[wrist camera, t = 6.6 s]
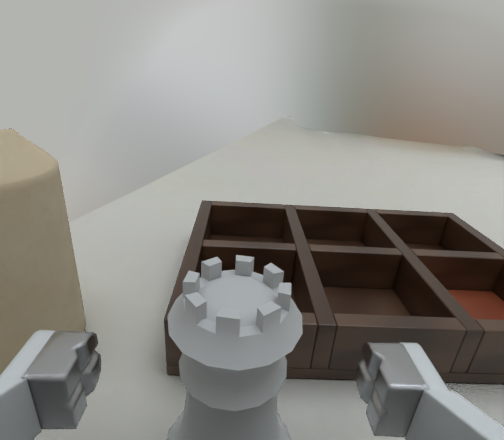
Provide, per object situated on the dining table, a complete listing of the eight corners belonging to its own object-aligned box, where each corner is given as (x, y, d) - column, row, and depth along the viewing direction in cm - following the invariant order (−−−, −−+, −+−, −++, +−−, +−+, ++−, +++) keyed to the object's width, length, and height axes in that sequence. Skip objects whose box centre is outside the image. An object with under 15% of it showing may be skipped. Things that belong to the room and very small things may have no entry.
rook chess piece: (196, 405, 14) (194, 227, 10) (305, 445, 13) (342, 257, 9) (125, 538, 10) (87, 318, 6) (276, 612, 9) (321, 390, 5)
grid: (166, 374, 15) (163, 319, 14) (201, 236, 27) (201, 200, 26) (593, 387, 16) (628, 335, 15) (441, 247, 28) (452, 212, 27)
